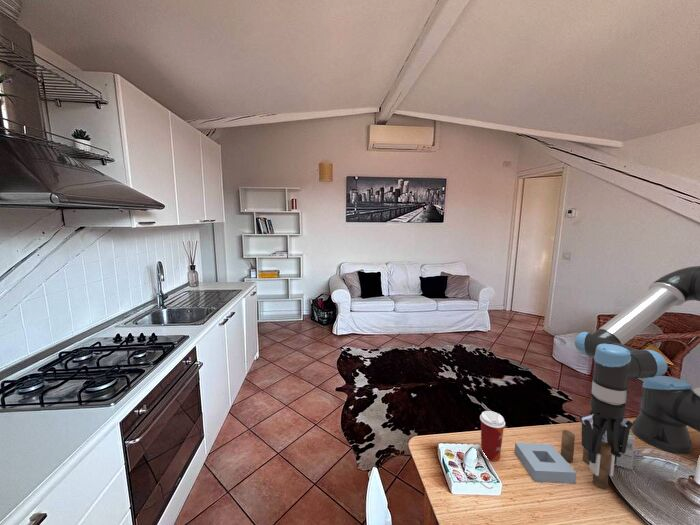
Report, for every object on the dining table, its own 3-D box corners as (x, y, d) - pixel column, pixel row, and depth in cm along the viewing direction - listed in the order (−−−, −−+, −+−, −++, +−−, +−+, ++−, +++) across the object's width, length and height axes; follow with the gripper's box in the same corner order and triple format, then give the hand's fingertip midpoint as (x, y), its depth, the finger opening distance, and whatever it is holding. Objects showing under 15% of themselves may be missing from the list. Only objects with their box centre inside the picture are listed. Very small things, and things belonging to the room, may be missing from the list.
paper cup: (506, 465, 95) (508, 425, 93) (481, 462, 96) (483, 422, 95) (499, 448, 102) (501, 410, 101) (475, 445, 104) (477, 408, 102)
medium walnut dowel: (568, 455, 99) (570, 430, 98) (575, 462, 96) (577, 437, 95) (558, 454, 99) (560, 429, 99) (564, 462, 96) (566, 436, 95)
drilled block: (550, 453, 100) (551, 444, 100) (575, 483, 88) (576, 472, 88) (514, 451, 101) (515, 442, 100) (534, 481, 89) (535, 470, 88)
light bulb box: (624, 456, 99) (627, 426, 98) (633, 471, 93) (636, 439, 92) (585, 446, 103) (587, 418, 102) (591, 460, 97) (593, 429, 96)
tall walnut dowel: (601, 480, 89) (604, 440, 88) (610, 489, 86) (614, 448, 84) (589, 479, 89) (593, 440, 88) (598, 489, 86) (602, 448, 85)
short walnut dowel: (590, 458, 98) (592, 441, 97) (598, 466, 95) (600, 449, 94) (580, 457, 98) (581, 441, 98) (587, 465, 95) (589, 448, 94)
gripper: (626, 392, 88) (618, 463, 90) (569, 390, 89) (564, 461, 91) (650, 406, 81) (641, 484, 83) (588, 404, 82) (581, 481, 84)
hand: (600, 472), depth 87 cm, fingers closed on tall walnut dowel, 3 cm apart
